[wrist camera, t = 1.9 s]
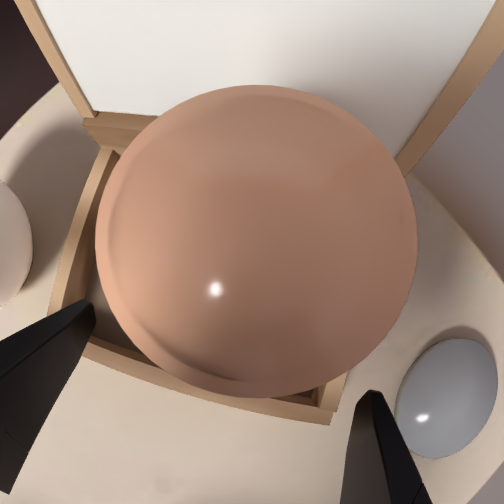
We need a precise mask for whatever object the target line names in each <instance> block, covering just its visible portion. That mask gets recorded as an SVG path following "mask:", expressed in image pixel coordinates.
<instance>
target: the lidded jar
mask: <svg viewBox="0 0 504 504" xmlns="http://www.w3.org/2000/svg"><path fill="white" fill-rule="evenodd" d="M32 259H33V244H32V233H31V227H30V223H29V219H28V216H27V214H26V211H25V209H24V207H23V206H22V204H21V202H20V200H19V198H18V197H17V196H16V195H15V194H14V193H13V191H12V190H11V189H10V188H9V187H8V186H7V185H6V184H5V183H4V182H3V181H2V180H0V309H1V308H3V307H4V306H6V305H7V304H8V303H9V302H10V301H11V300H12V299H13V298H14V297H15V295H16V294H17V293H18V291H19V290H20V288H21V286H22V284H23V283H24V282H25V280H26V278H27V276H28V274H29V271H30V268H31V264H32Z"/></svg>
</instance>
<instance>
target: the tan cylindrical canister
mask: <svg viewBox="0 0 504 504" xmlns="http://www.w3.org/2000/svg"><path fill="white" fill-rule="evenodd" d="M95 251H96V261H97V269H98V273H99V277H100V281H101V285H102V289H103V291H104V294H105V296H106V299H107V301H108V304H109V306H110V309H111V310H112V312H113V314H114V316H115V317H116V319H117V321H118V323H119V324H120V326H121V328H122V329H123V330H124V332H125V333H126V334H127V335H128V337H129V338H130V339H131V340H132V342H133V343H134V344H135V345H136V346H137V347H138V348H139V349H140V350H141V351H142V352H143V353H144V354H145V355H146V356H147V357H148V358H149V359H150V360H151V361H152V362H154V363H155V364H157V365H158V366H159V367H161V368H162V369H164V370H165V371H166V372H168V373H169V374H171V375H173V376H174V377H176V378H178V379H180V380H182V381H184V382H186V383H188V384H190V385H192V386H195V387H198V388H201V389H204V390H206V391H209V392H212V393H216V394H221V395H227V396H232V397H238V398H259V399H262V398H273V397H283V396H288V395H292V394H296V393H300V392H304V391H308V390H311V389H313V388H316V387H318V386H321V385H323V384H325V383H328V382H330V381H332V380H334V379H335V378H337V377H339V376H340V375H342V374H344V373H346V372H347V371H349V370H350V369H352V368H353V367H354V366H356V365H357V364H358V363H359V362H361V361H362V360H363V359H364V358H366V357H367V356H368V355H369V354H370V353H371V352H372V351H373V350H374V349H375V348H376V346H377V345H378V344H379V343H380V342H381V341H382V340H383V339H384V337H385V336H386V335H387V333H388V332H389V330H390V329H391V328H392V326H393V325H394V323H395V322H396V320H397V318H398V316H399V314H400V312H401V310H402V308H403V307H404V305H405V303H406V300H407V297H408V294H409V291H410V289H411V286H412V283H413V278H414V273H415V268H416V263H417V252H418V232H417V220H416V215H415V210H414V206H413V201H412V198H411V195H410V192H409V189H408V187H407V184H406V181H405V179H404V177H403V175H402V173H401V171H400V169H399V167H398V165H397V163H396V162H395V160H394V159H393V157H392V156H391V154H390V153H389V152H388V150H387V149H386V147H385V146H384V145H383V144H382V143H381V141H380V140H379V139H378V138H377V137H376V136H375V135H374V134H373V133H372V132H371V131H370V130H369V129H368V128H367V127H366V126H365V125H364V124H362V123H361V122H360V121H359V120H358V119H356V118H355V117H354V116H352V115H351V114H349V113H348V112H346V111H345V110H344V109H342V108H340V107H338V106H336V105H335V104H333V103H331V102H329V101H327V100H325V99H322V98H320V97H317V96H315V95H312V94H310V93H306V92H303V91H299V90H295V89H292V88H286V87H280V86H273V85H242V86H232V87H227V88H222V89H217V90H213V91H210V92H207V93H204V94H200V95H197V96H195V97H193V98H191V99H188V100H186V101H184V102H182V103H180V104H178V105H176V106H175V107H173V108H171V109H170V110H168V111H166V112H165V113H163V114H162V115H161V116H159V117H158V118H157V119H155V120H154V121H153V122H151V123H150V124H149V125H148V126H147V127H146V128H145V129H144V130H143V131H142V132H141V133H140V134H139V135H138V136H137V137H136V138H135V139H134V140H133V141H132V142H131V144H130V145H129V146H128V147H127V149H126V150H125V151H124V153H123V154H122V156H121V157H120V159H119V160H118V162H117V164H116V165H115V167H114V169H113V171H112V173H111V175H110V177H109V179H108V182H107V184H106V186H105V189H104V192H103V195H102V198H101V202H100V205H99V210H98V216H97V222H96V233H95Z"/></svg>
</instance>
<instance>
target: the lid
mask: <svg viewBox="0 0 504 504" xmlns="http://www.w3.org/2000/svg"><path fill="white" fill-rule="evenodd" d="M14 1H15V3H16V5H17V7H18V8H19V10H20V12H21V14H22V16H23V18H24V20H25V22H26V23H27V25H28V27H29V29H30V31H31V32H32V34H33V36H34V38H35V40H36V42H37V43H38V45H39V47H40V49H41V50H42V52H43V54H44V56H45V57H46V59H47V61H48V62H49V64H50V66H51V67H52V69H53V71H54V73H55V74H56V76H57V78H58V79H59V81H60V83H61V84H62V86H63V88H64V89H65V91H66V93H67V94H68V96H69V97H70V99H71V101H72V102H73V104H74V105H75V107H76V109H77V110H78V112H79V113H80V115H81V117H86V118H95V116H96V115H97V113H98V111H113V112H126V113H137V114H147V115H156V116H161V115H162V114H163V113H165V112H166V111H168V110H170V109H171V108H173V107H175V106H176V105H178V104H180V103H182V102H184V101H186V100H188V99H191V98H193V97H195V96H197V95H200V94H204V93H207V92H210V91H213V90H217V89H222V88H227V87H232V86H242V85H273V86H280V87H286V88H292V89H295V90H299V91H303V92H306V93H310V94H312V95H315V96H317V97H320V98H322V99H325V100H327V101H329V102H331V103H333V104H335V105H336V106H338V107H340V108H342V109H344V110H345V111H346V112H348V113H349V114H351V115H352V116H354V117H355V118H356V119H358V120H359V121H360V122H361V123H362V124H364V125H365V126H366V127H367V128H368V129H369V130H370V131H371V132H372V133H373V134H374V135H375V136H376V137H377V138H378V139H379V140H380V141H381V143H382V144H383V145H384V146H385V147H386V149H387V150H388V152H389V153H390V154H391V156H392V157H393V159H394V160H395V162H396V163H397V165H398V167H399V169H400V171H401V173H402V175H403V177H404V178H405V177H406V176H407V174H408V173H409V172H410V171H411V170H412V168H413V167H414V166H415V165H416V164H417V162H418V161H419V160H420V159H421V158H422V156H423V155H424V154H425V153H426V151H427V150H428V149H429V148H430V147H431V145H432V144H433V143H434V142H435V140H436V139H437V138H438V137H439V135H440V134H441V133H442V132H443V130H444V129H445V128H446V126H447V125H448V124H449V123H450V121H451V120H452V119H453V118H454V116H455V115H456V114H457V112H458V111H459V110H460V108H461V107H462V106H463V105H464V103H465V102H466V100H467V99H468V98H469V97H470V95H471V94H472V93H473V91H474V90H475V89H476V87H477V86H478V84H479V83H480V82H481V80H482V79H483V78H484V76H485V74H486V73H487V72H488V71H489V69H490V68H491V66H492V65H493V64H494V62H495V61H496V59H497V58H498V56H499V55H500V54H501V52H502V51H503V49H504V0H14Z"/></svg>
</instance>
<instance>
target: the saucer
mask: <svg viewBox="0 0 504 504" xmlns="http://www.w3.org/2000/svg"><path fill="white" fill-rule="evenodd" d="M497 388H498V376H497V369H496V365H495V362H494V360H493V358H492V356H491V354H490V353H489V351H488V350H487V349H486V348H485V347H484V346H483V345H481V344H480V343H478V342H476V341H473V340H470V339H448V340H444V341H441V342H439V343H437V344H435V345H433V346H432V347H430V348H429V349H427V350H426V351H425V352H424V353H423V354H422V355H420V356H419V357H418V358H417V360H416V361H415V362H414V363H413V364H412V366H411V367H410V369H409V370H408V372H407V373H406V375H405V377H404V379H403V381H402V383H401V385H400V388H399V391H398V394H397V398H396V402H395V411H394V418H395V421H396V423H397V425H398V428H399V430H400V432H401V434H402V436H403V438H404V441H405V443H406V445H407V447H408V448H409V449H410V450H412V451H413V452H414V453H416V454H417V455H419V456H422V457H425V458H431V459H436V458H443V457H447V456H450V455H452V454H454V453H456V452H458V451H460V450H461V449H463V448H464V447H466V446H467V445H468V444H469V443H470V442H471V441H472V440H473V439H474V438H475V437H476V436H477V435H478V434H479V432H480V431H481V430H482V428H483V427H484V425H485V424H486V422H487V420H488V418H489V417H490V414H491V412H492V410H493V407H494V404H495V400H496V396H497Z"/></svg>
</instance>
